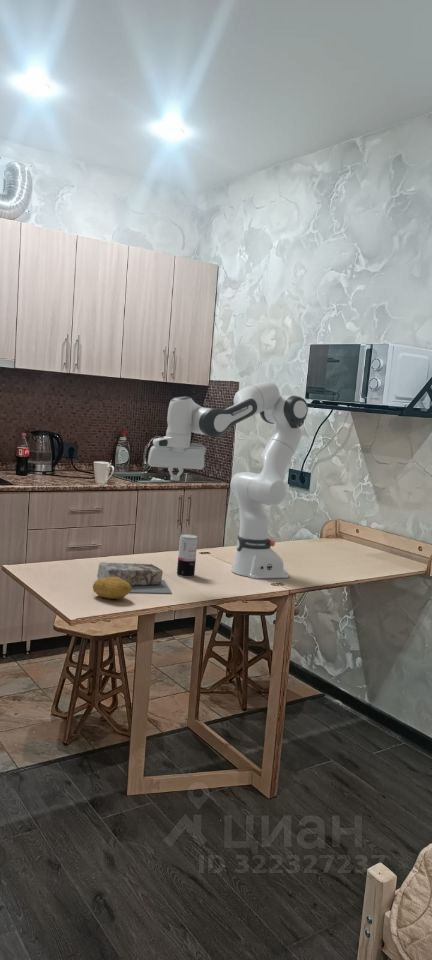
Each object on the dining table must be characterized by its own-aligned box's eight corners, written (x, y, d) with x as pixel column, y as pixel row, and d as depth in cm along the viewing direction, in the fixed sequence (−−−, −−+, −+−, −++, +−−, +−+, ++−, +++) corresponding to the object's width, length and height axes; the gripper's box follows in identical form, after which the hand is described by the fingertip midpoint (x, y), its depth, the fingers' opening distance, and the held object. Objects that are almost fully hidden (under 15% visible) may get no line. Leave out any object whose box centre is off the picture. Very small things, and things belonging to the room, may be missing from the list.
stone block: (163, 566, 246) (107, 566, 237) (162, 586, 246) (106, 587, 237) (150, 561, 258) (96, 562, 249) (149, 580, 258) (95, 581, 249)
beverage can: (173, 574, 266) (176, 534, 264) (187, 572, 270) (190, 533, 268) (183, 578, 261) (187, 538, 259) (197, 576, 265) (201, 537, 263)
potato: (109, 591, 235) (110, 571, 235) (136, 601, 228) (137, 580, 227) (87, 595, 228) (89, 574, 228) (114, 605, 220) (116, 584, 220)
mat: (164, 581, 254) (164, 580, 254) (171, 594, 239) (172, 592, 239) (111, 579, 250) (111, 578, 250) (115, 592, 234) (115, 591, 234)
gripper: (204, 443, 259) (200, 480, 261) (148, 439, 254) (145, 477, 256) (208, 444, 253) (204, 483, 255) (151, 440, 248) (148, 480, 250)
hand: (174, 480), depth 255 cm, fingers closed
